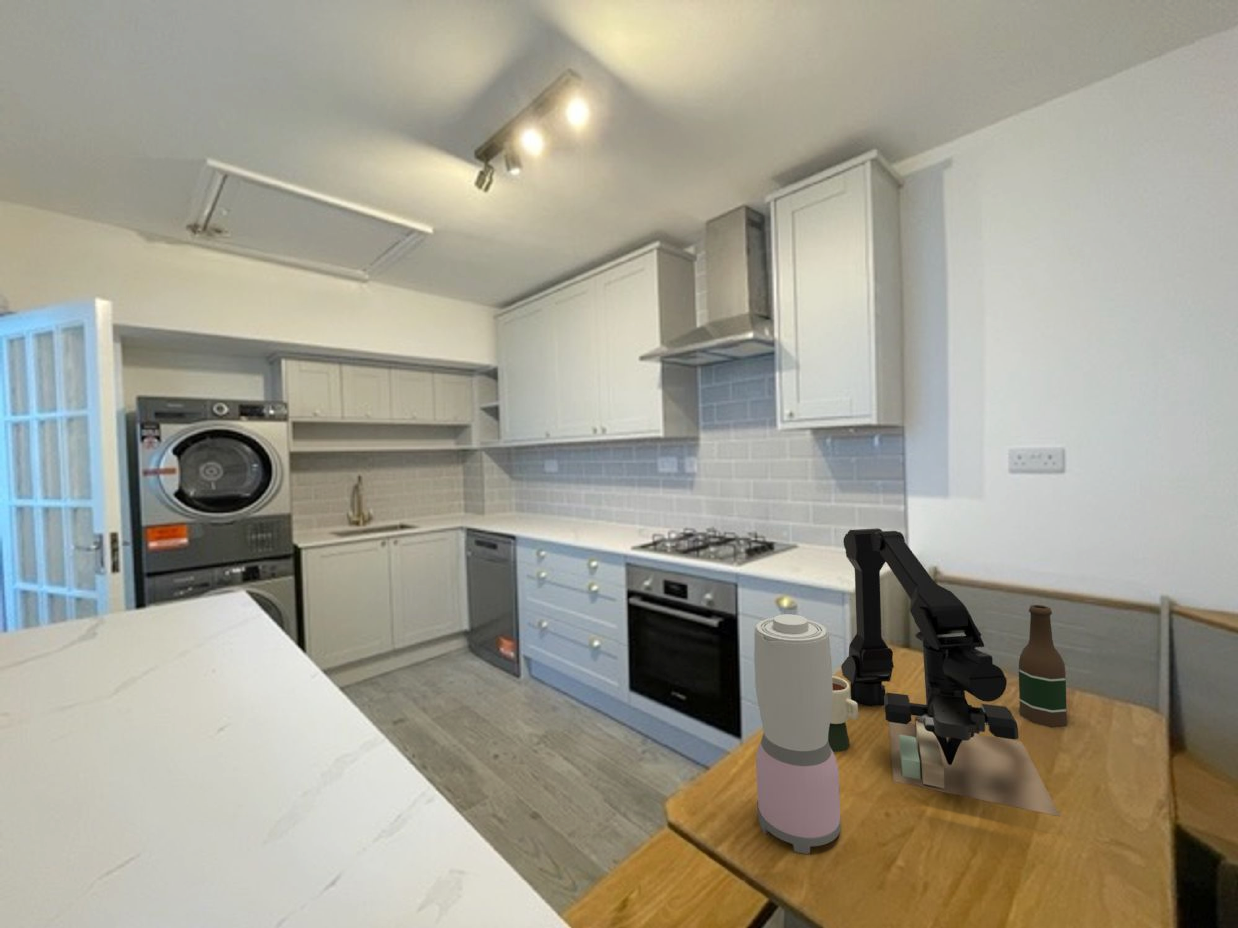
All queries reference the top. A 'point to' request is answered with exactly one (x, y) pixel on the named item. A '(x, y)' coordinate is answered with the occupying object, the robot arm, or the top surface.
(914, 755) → the block
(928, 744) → the fold-out leg
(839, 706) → the character mug
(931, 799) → the top surface
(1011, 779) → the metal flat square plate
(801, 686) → the blender
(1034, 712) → the beer bottle
